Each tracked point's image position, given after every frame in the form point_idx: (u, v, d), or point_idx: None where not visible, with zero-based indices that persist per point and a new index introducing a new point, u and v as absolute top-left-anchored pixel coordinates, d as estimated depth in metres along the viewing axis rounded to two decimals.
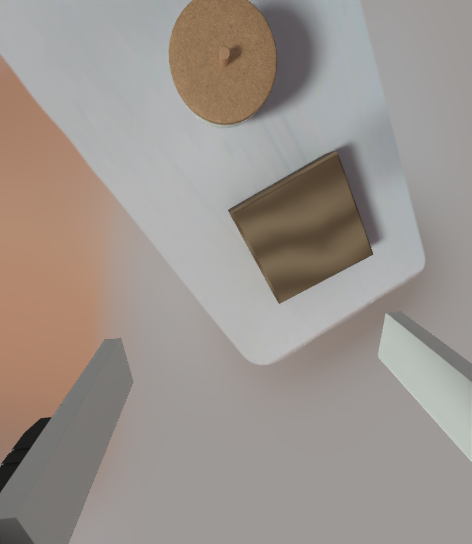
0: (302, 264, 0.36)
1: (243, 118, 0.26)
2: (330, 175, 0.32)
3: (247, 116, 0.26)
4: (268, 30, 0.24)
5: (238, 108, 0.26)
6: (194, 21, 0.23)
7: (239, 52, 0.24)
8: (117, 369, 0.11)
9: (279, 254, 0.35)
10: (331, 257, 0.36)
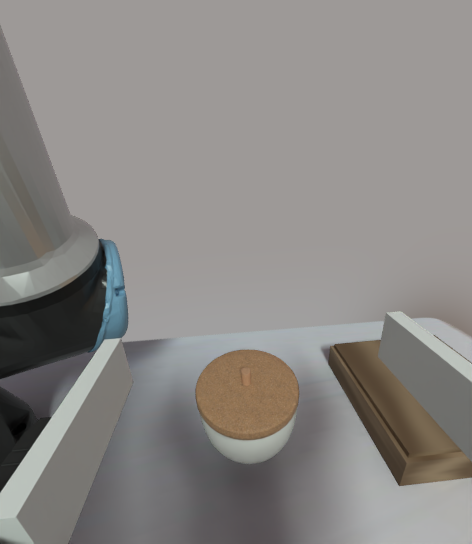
0: None
1: (297, 383, 0.25)
2: (352, 350, 0.35)
3: (296, 379, 0.26)
4: (240, 350, 0.30)
5: (288, 382, 0.25)
6: (209, 393, 0.25)
7: None
8: (117, 369, 0.11)
9: None
10: None
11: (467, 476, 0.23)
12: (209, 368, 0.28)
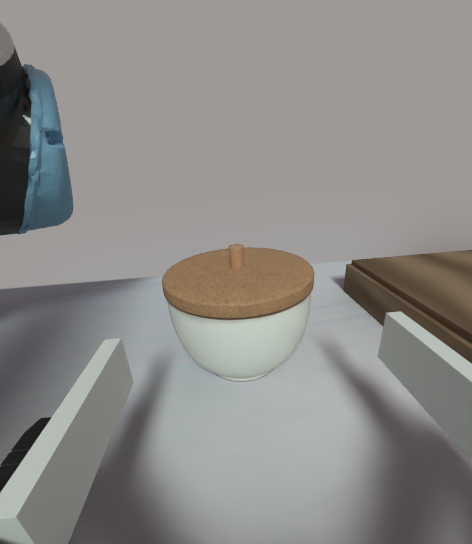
0: None
1: (310, 265, 0.18)
2: (376, 263, 0.27)
3: (308, 263, 0.18)
4: None
5: (297, 264, 0.17)
6: (182, 275, 0.17)
7: None
8: (117, 369, 0.11)
9: None
10: None
11: None
12: (186, 260, 0.20)
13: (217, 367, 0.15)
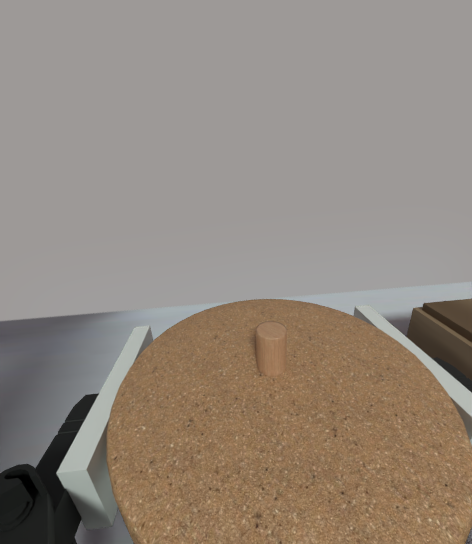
0: None
1: (426, 367, 0.08)
2: (467, 312, 0.18)
3: (416, 358, 0.09)
4: (249, 300, 0.13)
5: (401, 366, 0.08)
6: (154, 401, 0.08)
7: None
8: None
9: None
10: None
11: None
12: (171, 334, 0.11)
13: None
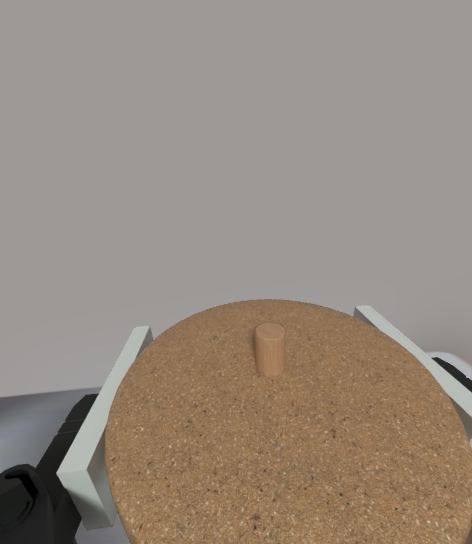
0: None
1: (425, 368, 0.08)
2: None
3: (416, 358, 0.09)
4: (248, 301, 0.13)
5: (400, 367, 0.08)
6: (152, 402, 0.07)
7: None
8: None
9: None
10: None
11: None
12: (170, 334, 0.11)
13: None
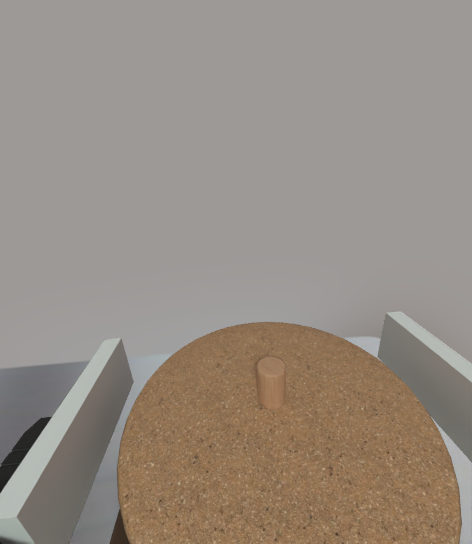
0: None
1: (417, 400, 0.09)
2: None
3: (409, 389, 0.09)
4: (250, 324, 0.14)
5: (394, 399, 0.09)
6: (161, 436, 0.08)
7: None
8: (117, 369, 0.11)
9: None
10: None
11: None
12: (175, 361, 0.11)
13: None
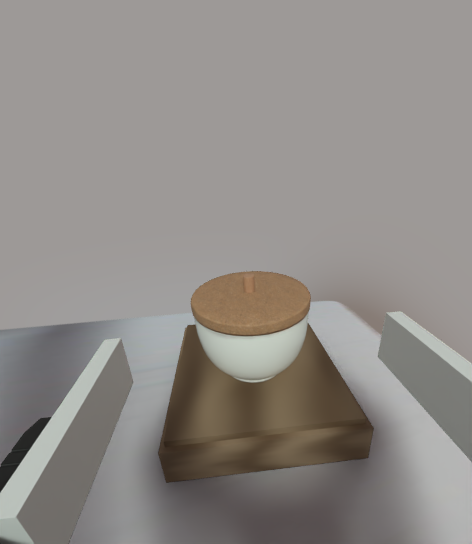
0: (294, 371, 0.23)
1: (307, 290, 0.22)
2: None
3: (306, 288, 0.23)
4: (242, 272, 0.27)
5: (297, 289, 0.22)
6: (206, 299, 0.21)
7: None
8: (117, 369, 0.11)
9: (267, 395, 0.21)
10: None
11: (251, 470, 0.19)
12: (207, 284, 0.25)
13: (235, 371, 0.20)
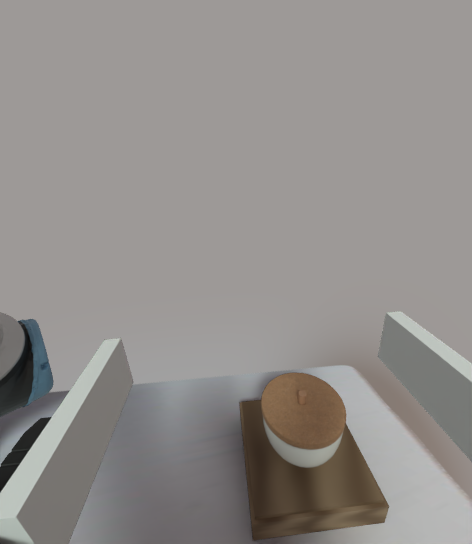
0: None
1: (342, 402, 0.32)
2: (254, 409, 0.40)
3: (341, 399, 0.32)
4: (290, 373, 0.37)
5: (335, 402, 0.32)
6: (274, 411, 0.31)
7: (299, 391, 0.34)
8: (117, 369, 0.11)
9: (315, 477, 0.31)
10: None
11: (308, 531, 0.29)
12: (268, 389, 0.34)
13: (296, 464, 0.30)
